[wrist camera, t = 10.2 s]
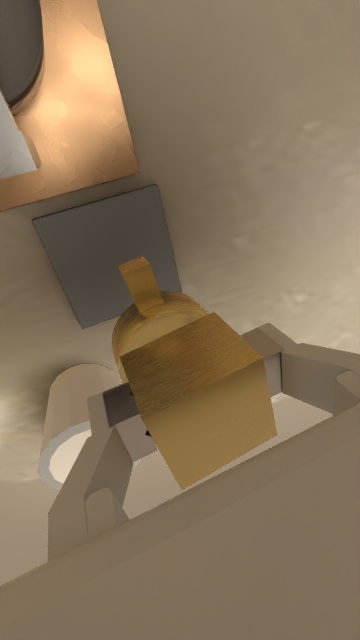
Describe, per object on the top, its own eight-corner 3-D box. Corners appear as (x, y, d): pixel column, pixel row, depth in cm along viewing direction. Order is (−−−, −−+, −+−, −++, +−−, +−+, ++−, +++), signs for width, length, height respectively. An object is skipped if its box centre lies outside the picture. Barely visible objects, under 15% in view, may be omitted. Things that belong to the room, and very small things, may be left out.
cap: (74, 284, 11) (93, 372, 7) (182, 238, 12) (266, 289, 7) (145, 414, 15) (187, 523, 11) (222, 374, 16) (292, 461, 11)
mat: (32, 218, 19) (32, 220, 18) (154, 184, 20) (157, 184, 20) (81, 325, 23) (82, 328, 22) (179, 289, 24) (182, 292, 24)
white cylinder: (80, 341, 24) (90, 403, 18) (141, 381, 27) (165, 442, 22) (21, 402, 24) (12, 480, 18) (88, 432, 28) (98, 504, 22)
